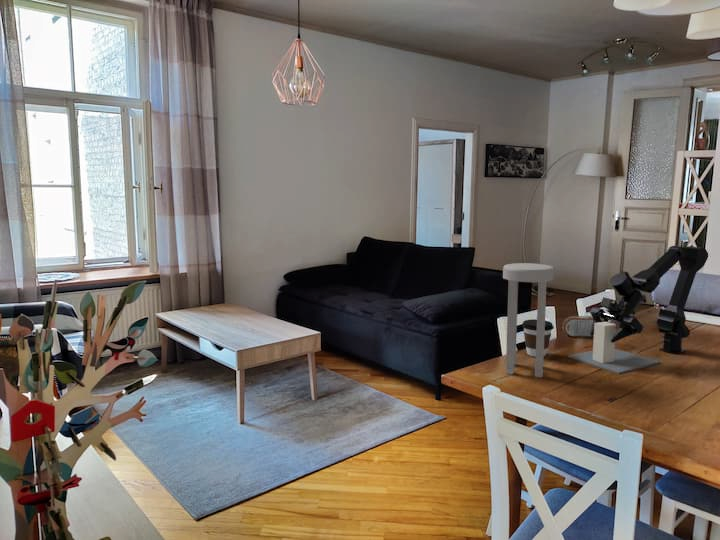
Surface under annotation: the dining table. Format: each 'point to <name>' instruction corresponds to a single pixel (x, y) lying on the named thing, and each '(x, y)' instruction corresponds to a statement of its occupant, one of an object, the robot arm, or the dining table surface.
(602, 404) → the dining table surface
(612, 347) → the card box
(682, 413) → the dining table surface
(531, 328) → the coffee cup
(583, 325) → the tin
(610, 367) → the mat
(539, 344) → the stool
